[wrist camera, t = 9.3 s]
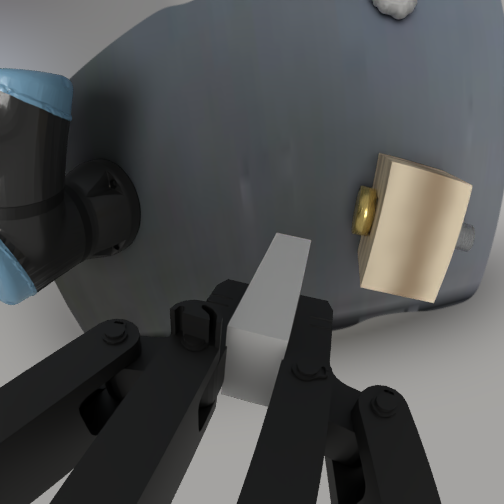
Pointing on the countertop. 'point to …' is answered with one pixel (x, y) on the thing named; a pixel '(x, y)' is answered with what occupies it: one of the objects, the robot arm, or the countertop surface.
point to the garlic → (395, 7)
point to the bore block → (412, 228)
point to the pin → (366, 214)
